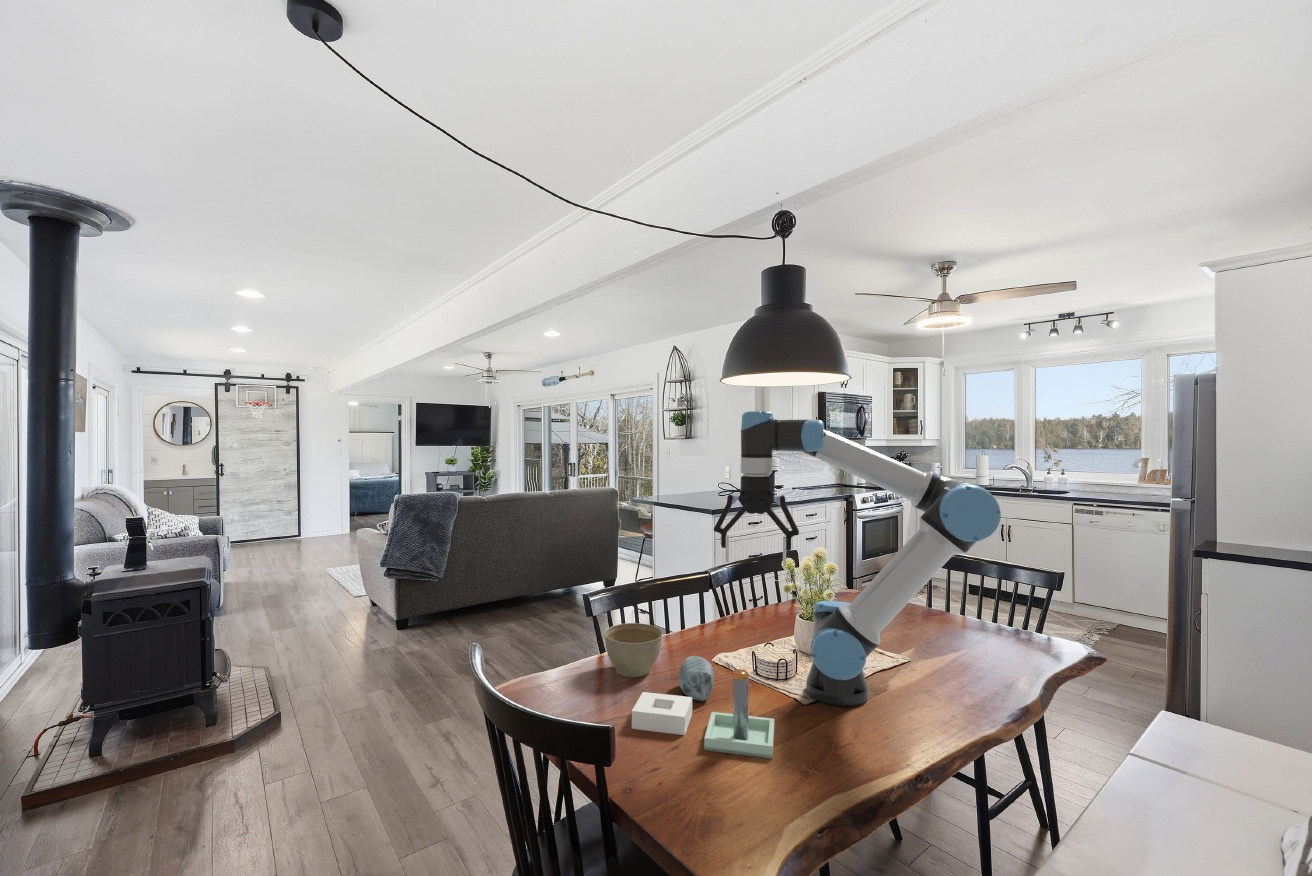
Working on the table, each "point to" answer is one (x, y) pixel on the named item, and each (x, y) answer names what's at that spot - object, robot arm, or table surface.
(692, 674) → the blue-grey stone
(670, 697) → the socket block
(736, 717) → the pin
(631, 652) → the planter bowl
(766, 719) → the tray
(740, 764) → the table surface
